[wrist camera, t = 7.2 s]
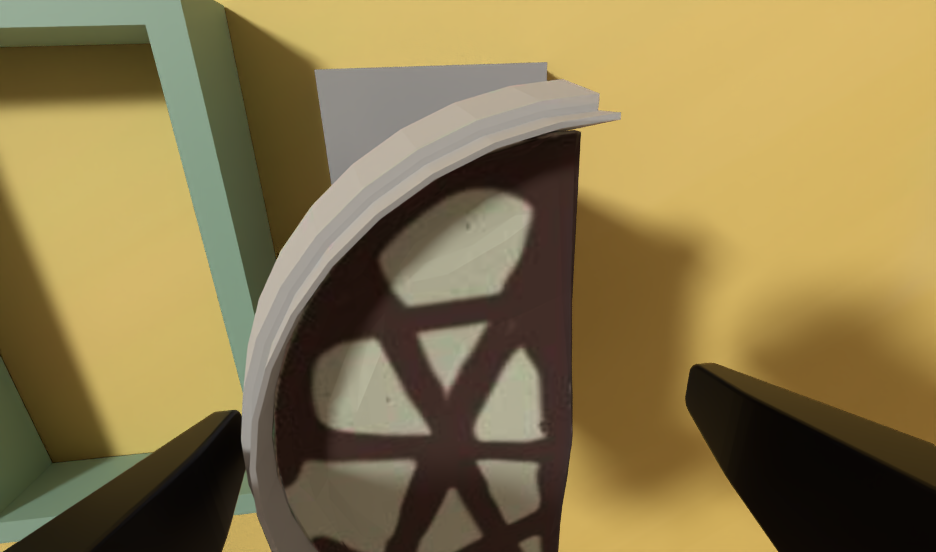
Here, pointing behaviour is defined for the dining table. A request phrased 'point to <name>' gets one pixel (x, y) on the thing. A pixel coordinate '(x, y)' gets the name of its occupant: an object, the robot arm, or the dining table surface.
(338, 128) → the slate tile
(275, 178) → the dining table surface
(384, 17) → the dining table surface
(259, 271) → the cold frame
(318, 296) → the food container
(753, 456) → the robot arm
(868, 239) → the dining table surface
